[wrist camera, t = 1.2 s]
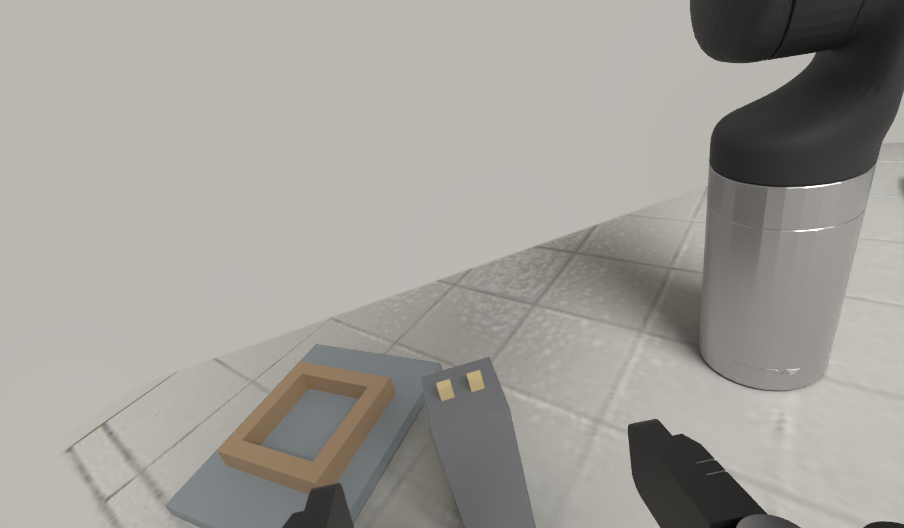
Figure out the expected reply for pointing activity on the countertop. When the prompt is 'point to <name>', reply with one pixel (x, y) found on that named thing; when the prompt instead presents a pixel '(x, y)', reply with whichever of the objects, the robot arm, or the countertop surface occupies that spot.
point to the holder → (309, 440)
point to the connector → (478, 446)
